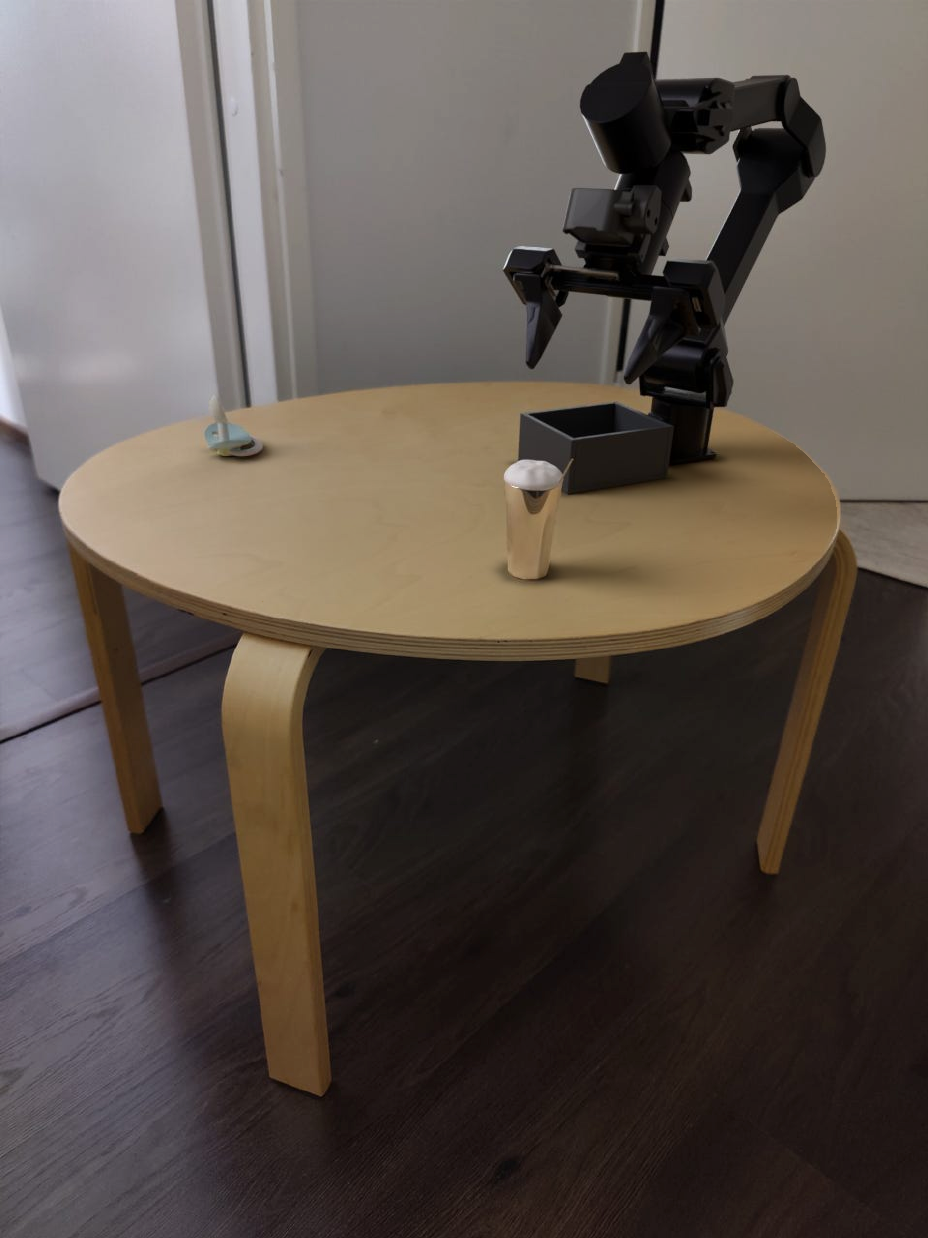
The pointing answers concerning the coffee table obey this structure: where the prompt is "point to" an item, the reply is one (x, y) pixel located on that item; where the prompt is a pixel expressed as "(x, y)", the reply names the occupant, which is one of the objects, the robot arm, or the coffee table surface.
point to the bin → (597, 444)
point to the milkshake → (531, 515)
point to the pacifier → (228, 434)
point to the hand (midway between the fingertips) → (576, 373)
